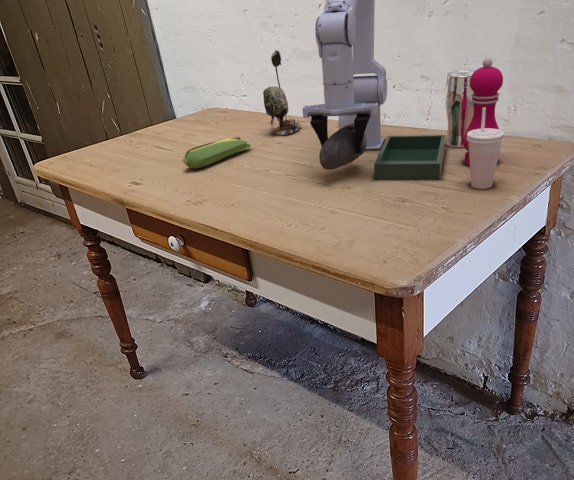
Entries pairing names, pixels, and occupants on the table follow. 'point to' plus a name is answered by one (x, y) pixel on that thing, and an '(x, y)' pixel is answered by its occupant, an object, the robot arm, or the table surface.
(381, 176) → the dish
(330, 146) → the perforated stone tool
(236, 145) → the edible corn
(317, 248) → the table surface
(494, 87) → the pepper mill
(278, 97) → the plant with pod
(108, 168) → the table surface
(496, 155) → the smoothie
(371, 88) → the robot arm
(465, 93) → the beer glass
